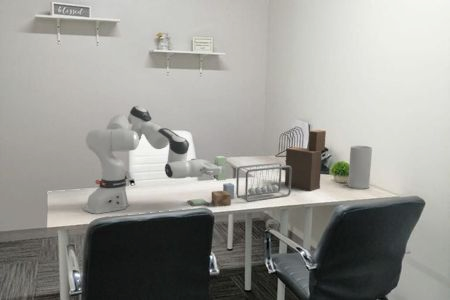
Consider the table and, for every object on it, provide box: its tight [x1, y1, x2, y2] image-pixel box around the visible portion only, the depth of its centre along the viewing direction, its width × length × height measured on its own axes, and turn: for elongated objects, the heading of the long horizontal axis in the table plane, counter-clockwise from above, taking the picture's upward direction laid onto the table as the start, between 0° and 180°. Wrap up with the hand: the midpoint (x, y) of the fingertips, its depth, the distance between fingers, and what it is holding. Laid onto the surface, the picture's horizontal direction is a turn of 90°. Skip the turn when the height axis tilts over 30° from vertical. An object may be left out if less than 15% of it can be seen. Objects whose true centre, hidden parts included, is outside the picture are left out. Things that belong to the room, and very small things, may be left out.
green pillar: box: [214, 155, 227, 181], centre depth 219 cm, size 4×4×12 cm
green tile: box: [186, 198, 210, 207], centre depth 219 cm, size 9×9×1 cm
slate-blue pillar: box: [222, 182, 235, 201], centre depth 228 cm, size 4×4×8 cm
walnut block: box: [210, 190, 232, 207], centre depth 219 cm, size 8×8×6 cm
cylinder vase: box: [347, 145, 373, 190], centre depth 258 cm, size 12×12×25 cm
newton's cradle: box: [235, 162, 292, 203], centre depth 232 cm, size 30×10×18 cm, turn 119°
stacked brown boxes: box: [284, 129, 327, 192], centre depth 256 cm, size 19×14×35 cm
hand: (221, 166), depth 219 cm, fingers closed on green pillar, 4 cm apart
